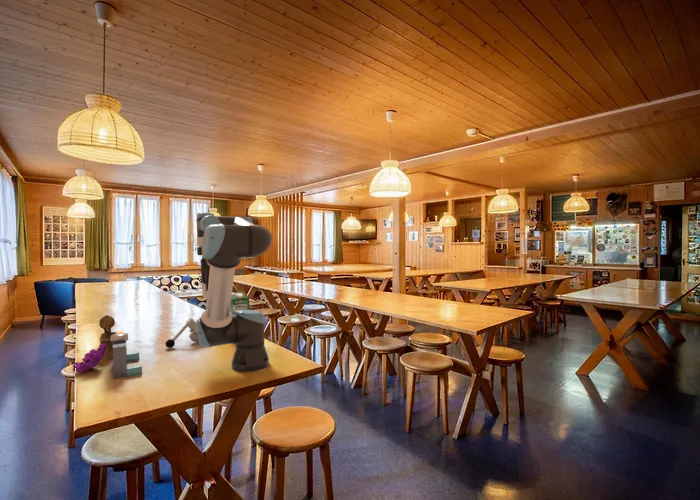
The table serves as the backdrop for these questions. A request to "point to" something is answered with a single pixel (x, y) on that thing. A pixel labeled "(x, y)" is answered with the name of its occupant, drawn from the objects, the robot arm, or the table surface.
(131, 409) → the table surface
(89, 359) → the purple toothed curved piece
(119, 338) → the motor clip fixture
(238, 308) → the milk carton
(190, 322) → the valve
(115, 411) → the table surface
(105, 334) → the brown disc topped figure
